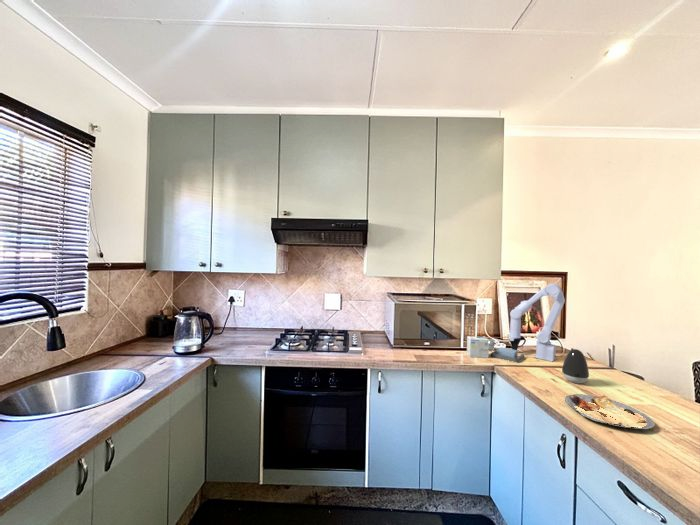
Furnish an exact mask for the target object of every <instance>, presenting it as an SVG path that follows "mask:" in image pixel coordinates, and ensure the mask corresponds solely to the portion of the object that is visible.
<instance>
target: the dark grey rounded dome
mask: <svg viewBox="0 0 700 525" xmlns="http://www.w3.org/2000/svg"><path fill="white" fill-rule="evenodd" d="M561 372H562V375H563V377H564V379H565V380H567V381H568V382H569V383H570V382H571V383H573V384H577V383H581V384H584V383H586V382H587V381H588V378H589V377H590V370H589V366H588V363H587V359H586V356H585V355H584V353H583V352H582V351H581V350H580V349H578V348H577V349H576V348H574V347H573V348H571V349H570V350H569V351H568V352H567V354H566V356H565V358H564V361H563V364H562V368H561Z"/></svg>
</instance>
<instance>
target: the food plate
mask: <svg viewBox="0 0 700 525" xmlns="http://www.w3.org/2000/svg"><path fill="white" fill-rule="evenodd" d="M564 402H565V403H566V404H567V405H569V406H570V407H571V409H574V410H575V412H577V410H576V409H577V408H575V407H574V406H578V407H580V408H582V409H584V410H585V411H594V410H595V411H596V410H599V409H600V407H601V408H603V409H605V410H607V411H609V412H612V411H615V412H616V411H617V412H620V411H623V410H621V409H620V408H619V407H622V408H624V411H627V412H628V413H631V414H633V415H635V414H634V413H638V414H640V415H641V416H643V418H646V421H645V420H640V419H639V420H640V421H638V420H637V421H635V422H636V423H647V425H646V426H644V427H642V428H638V427H637V428H636V427H634V428H633V429H635V430H638V429H640V430H649V429H652V428H654V427H655V422H654V421H653V419H652V418H651V417H650V416H648V415H647V414H645V413H643V412H642V411H640V410H638V409H636V408H634V407H632V406H630V405H628V404H624V403H622V402H620V401H616V400H612V399H610V398H608V396H606V395H602V396H596V395H589V394H581V393H580V394H578V393H576V394H575V393H574V394H570V395H566V396H565V398H564ZM588 402H591V403H595V404H596V405H594V404H591V403H588ZM581 412H582V411H581ZM581 412H579V411H578V412H577V413H579V414H580V415H582V416H583V417H586V418H588V419H590V420H592V421H595V422H599V423H602V424H607V423H606V421H604V420H600V419H598V418H595V419H594V417H593V418H591V417H592V416H591V417H590V415H589V416H587V415H588V414H587V415H586V414H584V413H581ZM597 412H599V411H597ZM599 413H600V414H601V415H603V416H604V417H607V416H606V415H607V414H604V413H602V412H599ZM612 413H613V414H616V413H614V412H612ZM617 414H619V413H617ZM620 415H621V414H620ZM610 417H611V416H610ZM612 418H613V417H612ZM615 420H616V419H615ZM603 421H604V422H603ZM607 425H612V426H616V427H621V428H626V427H625V426H626V425H624V424H623V425H622V424H620V425H621V426H619V425H614V424H612V423H611V424H610V423H608V424H607ZM627 428H629V429H632V428H631V427H627Z"/></svg>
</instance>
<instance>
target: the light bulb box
mask: <svg viewBox="0 0 700 525" xmlns="http://www.w3.org/2000/svg"><path fill="white" fill-rule="evenodd" d="M489 339H490V338H487V337H486V336H469V335H467V336H466V355H467V356H468V357H469V358H481V359H482V358H483V359H488V358H489V351H490V350H489Z"/></svg>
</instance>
